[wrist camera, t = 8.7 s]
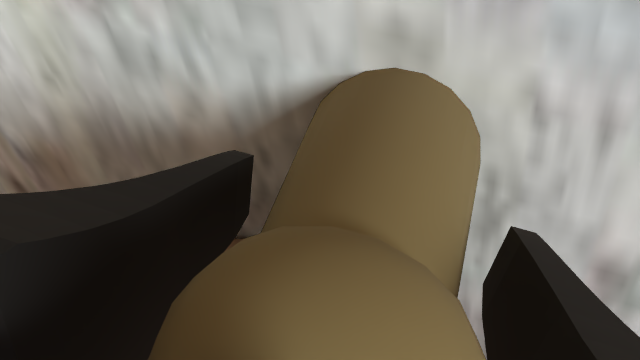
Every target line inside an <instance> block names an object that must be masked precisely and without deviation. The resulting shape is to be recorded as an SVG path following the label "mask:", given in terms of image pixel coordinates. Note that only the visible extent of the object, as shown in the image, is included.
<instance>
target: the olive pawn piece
mask: <svg viewBox="0 0 640 360" xmlns="http://www.w3.org/2000/svg"><path fill="white" fill-rule="evenodd" d="M479 169H480V135H479V132H478V130H477V127H476V125H475V122H474V119H473V117H472V114H471V112H470V110H469V109H468V108H467V107H466V106H465V104H464V103H463V102H462V101H461V100H460V99H459V98H458V96H457V95H456V94H455V93H454V92H453V91H452V90H451V89H450V88H449V87H447V86H445V85H443V84H442V83H440V82H438V81H436V80H434V79H433V78H431V77H429V76H427V75H426V74H423V73H418V72H413V71H408V70H403V69H398V68H389V69H381V70H373V71H365V72H363V73H361V74H359V75H357V76H354V77H352V78H350V79H348V80H346V81H344V82H342V83H340V84H339V85H338V86H337V87H336V88H335V89H334V90H333V91H332V92H330V93H329V94H328V95H327V96H326V97H325V98H324V99H323V100H322V101H321V103H320V105H319V107H318V109H317V111H316V113H315V115H314V117H313V119H312V121H311V123H310V125H309V127H308V129H307V131H306V134H305V136H304V138H303V140H302V143H301V145H300V147H299V149H298V151H297V154H296V156H295V158H294V160H293V163H292V165H291V167H290V169H289V171H288V174H287V176H286V178H285V180H284V183H283V185H282V187H281V189H280V191H279V194H278V196H277V198H276V200H275V202H274V205H273V207H272V209H271V211H270V214H269V216H268V218H267V220H266V222H265V225H264V227H263V229H262V231H261V233H260V234H257V235H254V236H251V237H248V238H245V239H243V240H242V241H240V242H239V243H237V244H236V245H234V246H233V247H231V248H230V249H228V250H227V251H225V252H224V253H222V254H221V255H220V256H218V257H217V258H216V259H215V260H214V261H213V262H211V263H210V264H209V265H208V266H207V267H205V268H204V269H203V270H202V271H201V272H200V273H198V274H197V275H196V276H195V277H194V278H193V279H192V280H191V281H190V282H189V284H188V285H187V286H186V287H185V288H184V290H183V291H182V292H181V293H180V294H179V295H178V297H177V298H176V299H175V300H174V301H173V303H172V304H171V307H170V309H169V311H168V313H167V315H166V318H165V320H164V322H163V324H162V327H161V329H160V331H159V333H158V335H157V338H156V340H155V343H154V346H153V348H152V351H151V353H150V356H149V358H148V360H486V358H485V356H484V354H483V351H482V349H481V346H480V344H479V342H478V339H477V337H476V335H475V333H474V331H473V329H472V326H471V324H470V322H469V320H468V318H467V316H466V314H465V312H464V309H463V307H462V305H461V303H460V301H459V300H458V299H457V297H458V292H459V286H460V280H461V274H462V268H463V262H464V256H465V251H466V245H467V239H468V233H469V227H470V221H471V216H472V210H473V204H474V198H475V192H476V186H477V181H478V175H479Z"/></svg>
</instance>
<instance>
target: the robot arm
mask: <svg viewBox="0 0 640 360" xmlns="http://www.w3.org/2000/svg"><path fill="white" fill-rule="evenodd" d="M253 157H254V155H250V154H247V153H243V152H239V151H236V150H232V151H227V152H224V153H220V154H217V155H213V156H210V157H207V158H204V159H201V160H198V161H195V162H191V163H188V164H185V165H182V166H179V167H176V168H172V169H168V170H165V171H161V172H157V173H154V174H150V175H146V176H143V177H139V178H135V179H130V180H125V181H120V182H115V183H110V184H104V185H98V186H92V187H83V188H75V189H67V190H59V191H49V192H35V193H17V194H0V360H148V358H149V356H150V353H151V351H152V348H153V346H154V343H155V340H156V338H157V335H158V333H159V331H160V329H161V327H162V324H163V322H164V320H165V318H166V315H167V313H168V311H169V309H170V307H171V304H172V303H173V301H174V300H175V299H176V298H177V297H178V295H179V294H180V293H181V292H182V291H183V290H184V288H185V287H186V286H187V285H188V284H189V282H190V281H191V280H192V279H193V278H194V277H195V276H196V275H197V274H198V273H200V272H201V271H202V270H203V269H204V268H205V267H207V266H208V265H209V264H210V263H211V262H213V261H214V260H215V259H216V258H217V257H218V256H220V255H221V254H222V253H224V251H225V250H226V249H227V248H228V246H229V245H230V244H231V242H232V241H233V240H234V238H235V237H236V235H237V233H238V232H239V230H240V228H241V227H242V225H243V223H244V221H245V220H246V218H247V216H248V214H249V206H250V194H251V182H252V169H253ZM482 320H483V329H484V337H485V345H486V353H487V360H640V337H639V336H638V335H636V334H635V333H634V332H633V331H632V330H631V329H630V328H629V327H628V326H626V325H625V324H624V323H623V322H622V321H621V320H620V319H619V318H618V317H617V316H616V315H615V314H614V313H613V312H612V311H611V310H610V309H609V308H608V307H607V306H606V305H605V304H604V303H603V302H602V301H601V300H600V299H599V298H598V297H597V296H596V295H595V294H594V293H593V292H592V291H591V290H590V289H589V288H588V287H587V286H586V285H585V284H584V283H583V282H582V281H581V280H580V279H579V278H578V277H577V276H576V274H575V273H574V272H573V271H572V270H571V269H570V268H569V267H568V266H567V265H566V264H565V263H564V261H563V260H562V259H561V258H560V257H559V256H558V255H557V254H556V253H555V252H554V251H553V250H552V248H551V247H550V246H549V245H548V244H547V243H546V242H545V241H544V240H543V239H542V238H541V237H540V236H539V235H537V234H536V233H534V232H531V231H527V230H523V229H520V228H516V227H512V226H511V227H510V229H509V231H508V234H507V236H506V238H505V240H504V242H503V244H502V246H501V248H500V250H499V252H498V254H497V256H496V258H495V260H494V262H493V264H492V266H491V268H490V271H489V273H488V275H487V277H486V279H485V281H484V283H483V298H482Z"/></svg>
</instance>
